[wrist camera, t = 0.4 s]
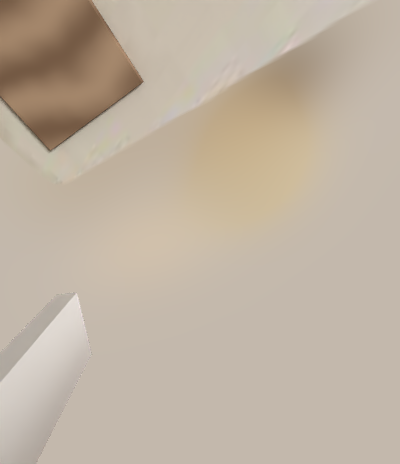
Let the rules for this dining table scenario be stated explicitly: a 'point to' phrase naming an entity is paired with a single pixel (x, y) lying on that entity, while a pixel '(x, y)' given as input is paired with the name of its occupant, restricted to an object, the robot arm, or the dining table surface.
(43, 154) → the dining table surface
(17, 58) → the walnut pad
